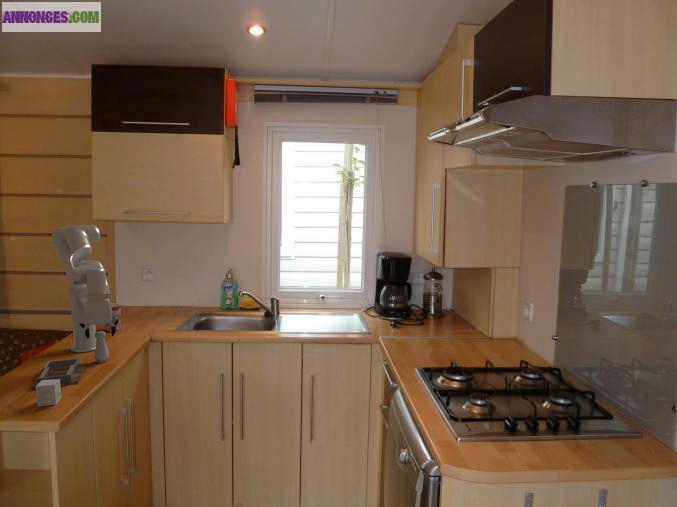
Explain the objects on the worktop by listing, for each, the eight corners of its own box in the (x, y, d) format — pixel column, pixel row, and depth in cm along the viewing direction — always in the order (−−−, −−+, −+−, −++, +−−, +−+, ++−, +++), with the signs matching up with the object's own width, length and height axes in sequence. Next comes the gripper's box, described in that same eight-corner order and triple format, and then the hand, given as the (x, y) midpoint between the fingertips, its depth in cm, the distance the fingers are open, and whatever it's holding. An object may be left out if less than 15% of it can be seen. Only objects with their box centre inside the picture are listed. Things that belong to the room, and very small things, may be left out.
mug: (119, 332, 279) (117, 306, 277) (101, 333, 279) (99, 307, 277) (127, 326, 292) (125, 301, 290) (110, 326, 291) (108, 301, 289)
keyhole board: (43, 369, 223) (43, 367, 223) (85, 365, 228) (85, 363, 228) (31, 388, 203) (31, 386, 202) (78, 383, 208) (78, 380, 207)
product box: (62, 398, 193) (60, 378, 192) (56, 405, 187) (54, 384, 186) (43, 399, 192) (41, 379, 191) (36, 406, 186) (35, 386, 185)
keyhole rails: (48, 366, 224) (48, 361, 224) (80, 363, 228) (80, 357, 227) (37, 385, 203) (36, 378, 203) (72, 381, 207) (72, 375, 206)
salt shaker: (105, 358, 237) (103, 329, 235) (112, 361, 233) (109, 331, 232) (92, 362, 233) (89, 332, 231) (98, 364, 229) (96, 334, 227)
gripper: (120, 293, 235) (123, 332, 237) (76, 297, 230) (79, 337, 232) (118, 296, 228) (122, 336, 230) (73, 300, 223) (77, 341, 225)
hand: (100, 336), depth 231 cm, fingers open, 9 cm apart
